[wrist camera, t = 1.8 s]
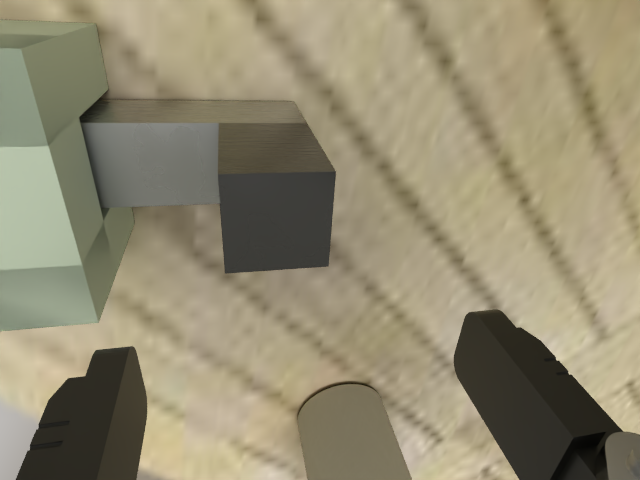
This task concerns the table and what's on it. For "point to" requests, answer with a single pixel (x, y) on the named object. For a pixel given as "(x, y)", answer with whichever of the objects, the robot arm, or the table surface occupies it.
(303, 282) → the table surface
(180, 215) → the table surface
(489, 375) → the robot arm
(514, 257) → the table surface
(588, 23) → the table surface
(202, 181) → the grey l-shaped bracket
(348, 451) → the travel mug
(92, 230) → the bearing bridge
